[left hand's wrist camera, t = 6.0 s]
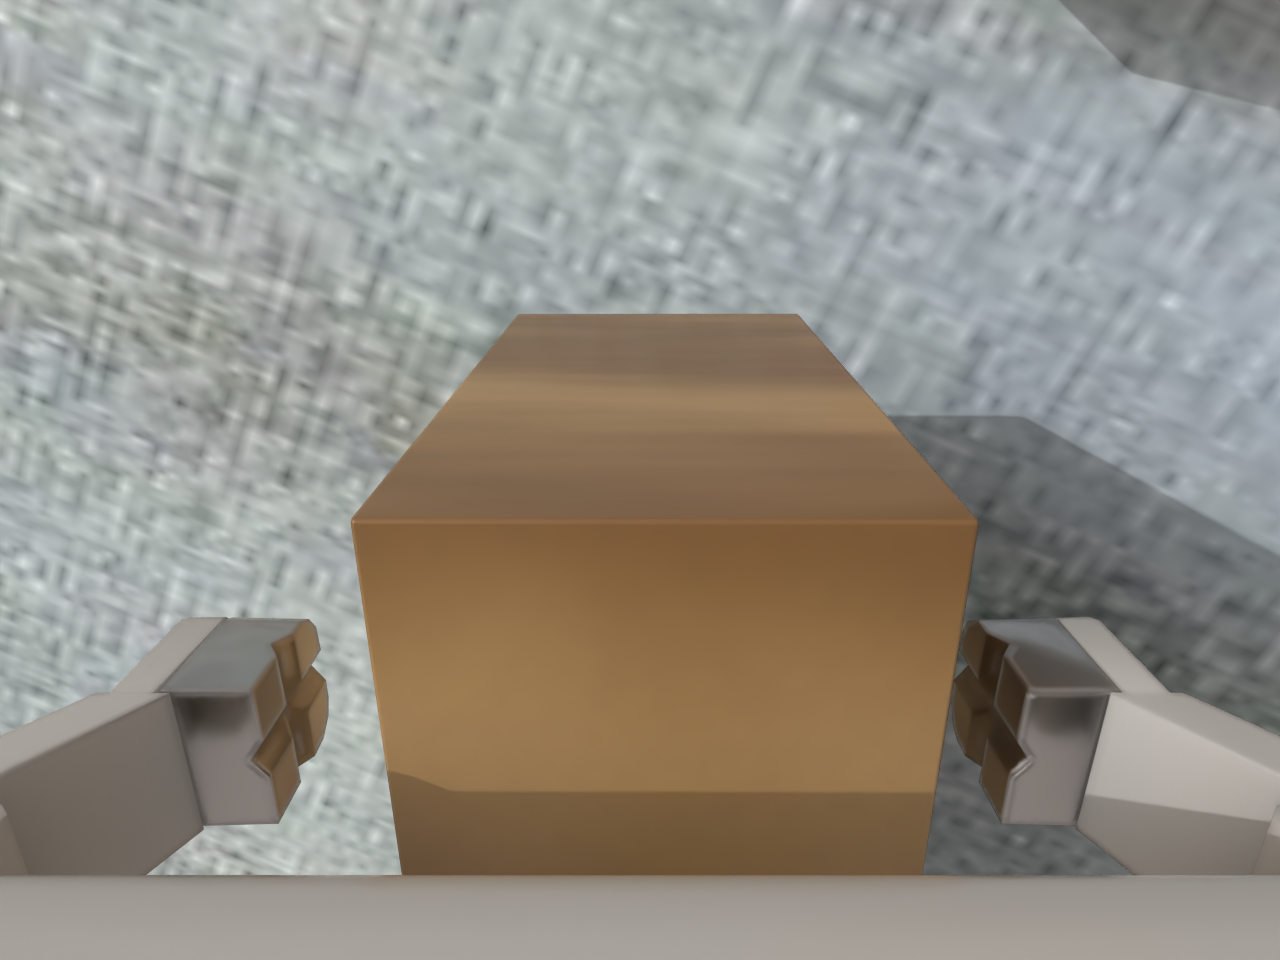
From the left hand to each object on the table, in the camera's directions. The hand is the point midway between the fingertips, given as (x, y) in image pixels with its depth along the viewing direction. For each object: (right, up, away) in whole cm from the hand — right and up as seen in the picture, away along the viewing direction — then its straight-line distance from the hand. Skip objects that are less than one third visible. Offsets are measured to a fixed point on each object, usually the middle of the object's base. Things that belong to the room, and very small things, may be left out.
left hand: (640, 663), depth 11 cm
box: (0, -6, +12) cm, 13 cm away
